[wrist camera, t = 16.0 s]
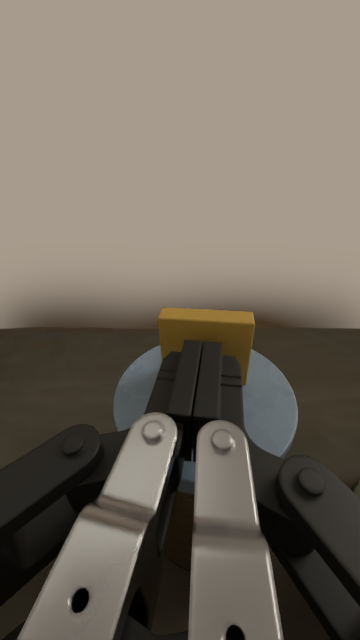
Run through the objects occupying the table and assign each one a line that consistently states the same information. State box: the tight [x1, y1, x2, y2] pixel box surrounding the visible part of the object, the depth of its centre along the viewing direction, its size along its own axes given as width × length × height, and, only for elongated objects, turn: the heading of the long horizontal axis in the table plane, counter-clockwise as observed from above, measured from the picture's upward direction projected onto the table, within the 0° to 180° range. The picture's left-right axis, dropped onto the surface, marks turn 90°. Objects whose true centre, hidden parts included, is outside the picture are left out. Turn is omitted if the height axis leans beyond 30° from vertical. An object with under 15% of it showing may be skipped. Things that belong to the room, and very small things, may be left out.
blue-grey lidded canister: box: [113, 346, 298, 571], centre depth 15 cm, size 8×8×11 cm
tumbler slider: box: [158, 307, 255, 386], centre depth 13 cm, size 4×4×4 cm
